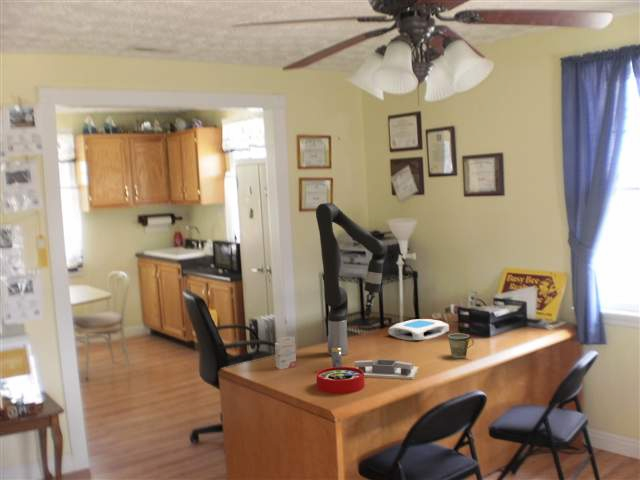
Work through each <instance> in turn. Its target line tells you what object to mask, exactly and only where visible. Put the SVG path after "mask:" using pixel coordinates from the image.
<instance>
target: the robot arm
mask: <svg viewBox="0 0 640 480" xmlns="http://www.w3.org/2000/svg"><path fill="white" fill-rule="evenodd" d="M315 217H316V222H317V228H318V232H319V240H320V241H319V242H320V252H321V259H322V268H323V275H324V299H325V303H326V305H327V306H328V307H329V312H328V314H327V329H328V332H327V333H328V335H327V338H326V339H327V355H330V356H332V348H333V347H341V350H342V356H347V355H348V350H349V349H348V327H347V324H348V322H347V317H348V316H347V315H348V312H349V311H348V305H349V303H348V298H349V297H348V294H347V291H346V290H345V288H344V287H341V286H340V281H339V277H340V270H341V266H342V258H341V247H340V245H339V242H338V239H337V238H336V236H335V232H334V228H333V223H334V224H336V225H338V226H339V227H340V228H342V229H343V230H344V232H346V234H347V235H348V236H349V237H351V239H353V240H354V241H355V242H357V243H358V244H360V245H362V247H364V248H365V249H366V250H367V251H369V252H370V253H371V254H372V255H371V259H370V260H369V262H368V266H367V270H366V271H367V272H366V275H365V281H364V288H363V290H364V291H365V292H368V294H366V297H365V299H366V300H365V312H364V317H368V318H369V317H370V315H371V314H372V310H373V305H374V302H375V300H376V295H375V294H379V293H380V292H381V285H382V279H383V268H384V263H385V261H386V257H387V254H388V245H387V243H386V242H385V241H383V240H380V239H378V238H376V237H375V236H373V235H372V233H371V232H370V231H368V230H367V229H365V228H364V227H362V226H360V225H359V224H358V223H356V222H355V221H353V220H352V219H351V218H350V217H348V216H347V215H346V213H344V212H343V211H342V210H341V209H340V208H339V207H338V206H337V205H336V204H334V203H332V202H324V203H320V204H318V206H317V207H316V209H315Z"/></svg>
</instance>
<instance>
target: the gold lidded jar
mask: <svg viewBox="0 0 640 480" xmlns="http://www.w3.org/2000/svg"><path fill="white" fill-rule="evenodd" d="M342 357H343V355H342V350H341V347H333V348H332V355H331V360H332V361H331V363H332V366H331V368H332V367H343V358H342Z"/></svg>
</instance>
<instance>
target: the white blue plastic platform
mask: <svg viewBox="0 0 640 480" xmlns="http://www.w3.org/2000/svg"><path fill="white" fill-rule="evenodd" d="M387 330H388V335H389V336H391V337H393V338H395V339H400V340H405V341H411V342H412V341H425V340H426V341H427V340H429V339H434V338H437V337H440V336H443V335H444V334H446V333H447V332H449V331H450V325H449V324H448V323H446V322H444V321H441V320H437V319H430V318H419V319H417V318H416V319H410V320H406V321H402V322H397V323H395V324H393V325H391V326H390V327H389V328H388V329H387ZM425 332H427V333H430V334H426V335H424V333H425ZM407 334H411V335H407Z"/></svg>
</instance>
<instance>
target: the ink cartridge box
mask: <svg viewBox="0 0 640 480" xmlns="http://www.w3.org/2000/svg"><path fill="white" fill-rule="evenodd" d="M274 352H275V353H274V354H275V357H274V358H275V368H276V367H277V369H279V370H284V369H285V368H286V369H291V368H296V367H297V355H296V341H295V336H294V335H293V336H292V335H291V336H285V337H284V336H283V337H279V338H278V342H274Z"/></svg>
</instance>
